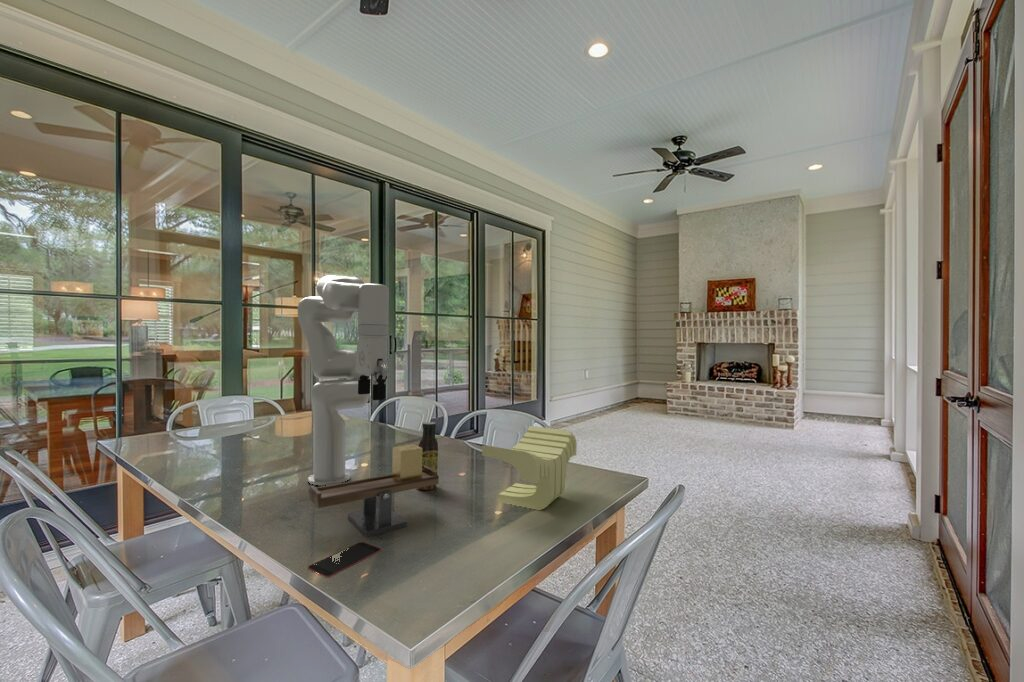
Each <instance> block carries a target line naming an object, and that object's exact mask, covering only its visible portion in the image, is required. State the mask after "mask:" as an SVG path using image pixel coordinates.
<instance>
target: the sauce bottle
mask: <svg viewBox="0 0 1024 682" xmlns="http://www.w3.org/2000/svg"><path fill="white" fill-rule="evenodd" d="M421 427H422V435H421V436H422V437H421V440H420V442H419V443H418V446H419V447H421V448H422V469H423V466H427V467H429V468H431V469H433V470H435V471H437V472H438V465H439V463H438V460H439V443H438V441H437V439H436V427H437V423H436V422H433V421H424V422H422V426H421ZM436 486H437V484H436V485H431V486H426V487H421V488H417V489H418V490H420V491H421V490H422V491H430V490H434V489H435V488H436Z"/></svg>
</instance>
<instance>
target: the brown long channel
mask: <svg viewBox="0 0 1024 682" xmlns="http://www.w3.org/2000/svg"><path fill="white" fill-rule="evenodd" d="M439 480H440V479H439V474H438V470H437V471H435V470H433V469H431V468H429V467H427V466H423V469H422V478H419V479H414V480H409V481H403V482H398V481H396V480H395V479H393V478H392V473H391V474H386V475H385V474H384V475H381V476H374V477H369V478H367V477H366V478H363V479H358V480H352V481H346V482H343V483H339V484H333V485H327V486H317V487H316V485H312V484H311V485H309V488H308V498H309V500H310V501H311V502H312V503H313V504H314V505H315V506H316V508H317V509H321V508H325V507H331V506H332V507H333V506H335V505H336V506H337V505H340V504H341V505H342V504H346V503H351V502H355V501H360V500H363V499H366V498H371V497H376V498H377V497H378V493H379V492H384V491H389V490H390V491H392V494H395V493H399V492H406V491H410V490H411V491H412V490H415V489H418V488H421V487H426V486H431V485H436V486H437V485H439Z"/></svg>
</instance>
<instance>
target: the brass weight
mask: <svg viewBox="0 0 1024 682" xmlns="http://www.w3.org/2000/svg"><path fill="white" fill-rule="evenodd" d="M391 471H392V473H391V474H392V478H393V479H395V480H396V481H398V482H403V481H409V480H414V479H419V478H422V448H421V447H419V445H416V444H414V443H413V444H405V445H399V446H392V466H391Z"/></svg>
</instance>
